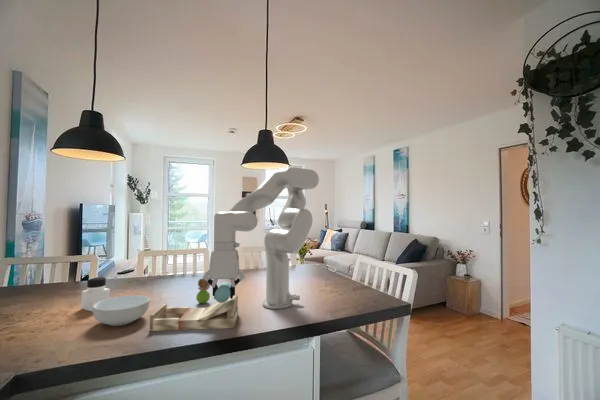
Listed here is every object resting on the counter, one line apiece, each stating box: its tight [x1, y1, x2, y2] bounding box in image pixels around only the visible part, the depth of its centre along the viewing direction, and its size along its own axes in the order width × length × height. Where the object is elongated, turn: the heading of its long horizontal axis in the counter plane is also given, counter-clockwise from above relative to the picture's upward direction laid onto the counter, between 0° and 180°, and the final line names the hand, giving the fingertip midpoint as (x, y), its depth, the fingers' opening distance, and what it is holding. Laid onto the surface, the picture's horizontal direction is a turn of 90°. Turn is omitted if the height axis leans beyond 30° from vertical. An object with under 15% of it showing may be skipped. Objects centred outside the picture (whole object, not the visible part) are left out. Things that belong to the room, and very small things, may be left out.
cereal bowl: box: [92, 294, 151, 327], centre depth 100 cm, size 17×17×7 cm
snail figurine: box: [196, 277, 211, 305], centre depth 120 cm, size 5×6×12 cm
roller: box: [213, 281, 231, 303], centre depth 101 cm, size 5×8×5 cm, turn 6°
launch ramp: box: [149, 294, 239, 332], centre depth 100 cm, size 27×12×8 cm, turn 96°
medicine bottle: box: [80, 276, 112, 313], centre depth 114 cm, size 7×7×12 cm
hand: (223, 297), depth 101 cm, fingers closed on roller, 4 cm apart
